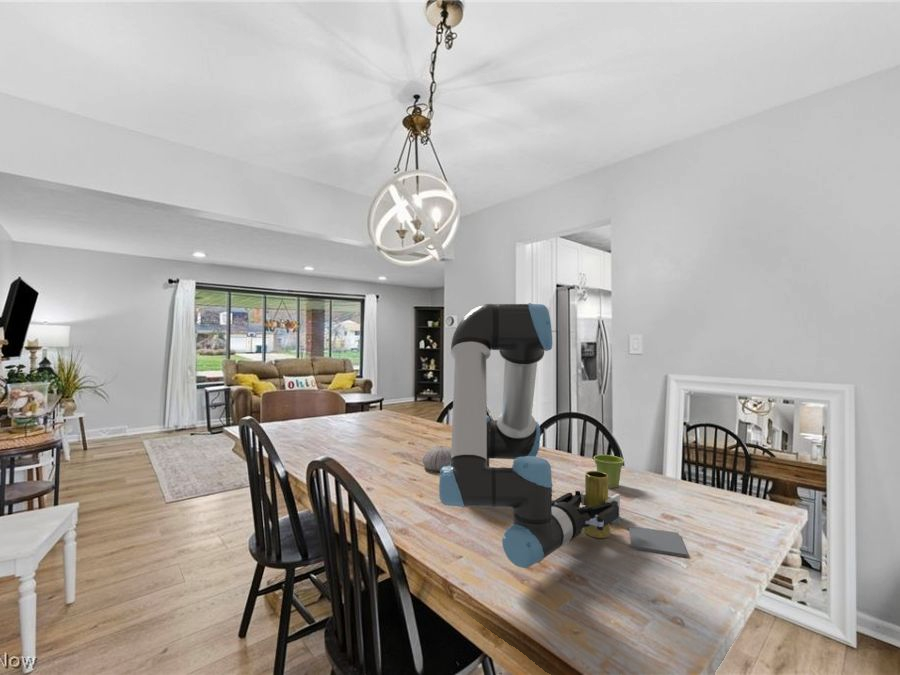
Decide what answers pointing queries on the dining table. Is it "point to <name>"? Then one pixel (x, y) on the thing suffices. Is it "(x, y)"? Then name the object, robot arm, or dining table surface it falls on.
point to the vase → (596, 499)
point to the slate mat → (657, 541)
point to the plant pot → (610, 468)
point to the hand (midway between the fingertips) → (606, 496)
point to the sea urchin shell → (437, 458)
